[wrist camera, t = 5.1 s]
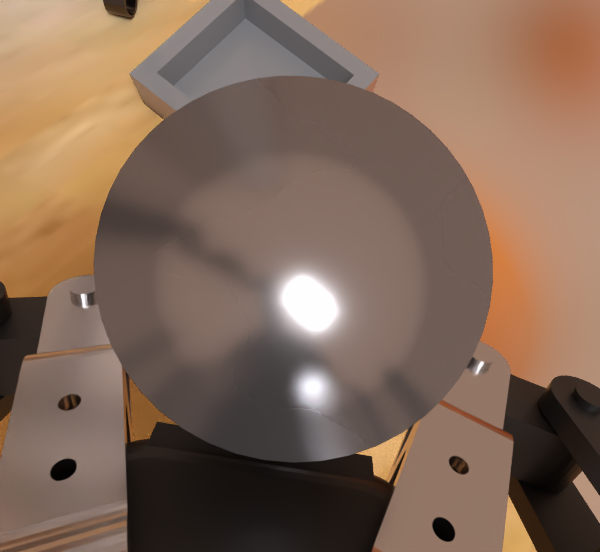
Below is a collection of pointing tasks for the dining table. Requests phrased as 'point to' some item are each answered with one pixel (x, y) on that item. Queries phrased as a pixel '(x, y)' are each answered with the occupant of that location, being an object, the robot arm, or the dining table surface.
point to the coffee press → (121, 7)
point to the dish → (241, 54)
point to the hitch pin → (293, 268)
